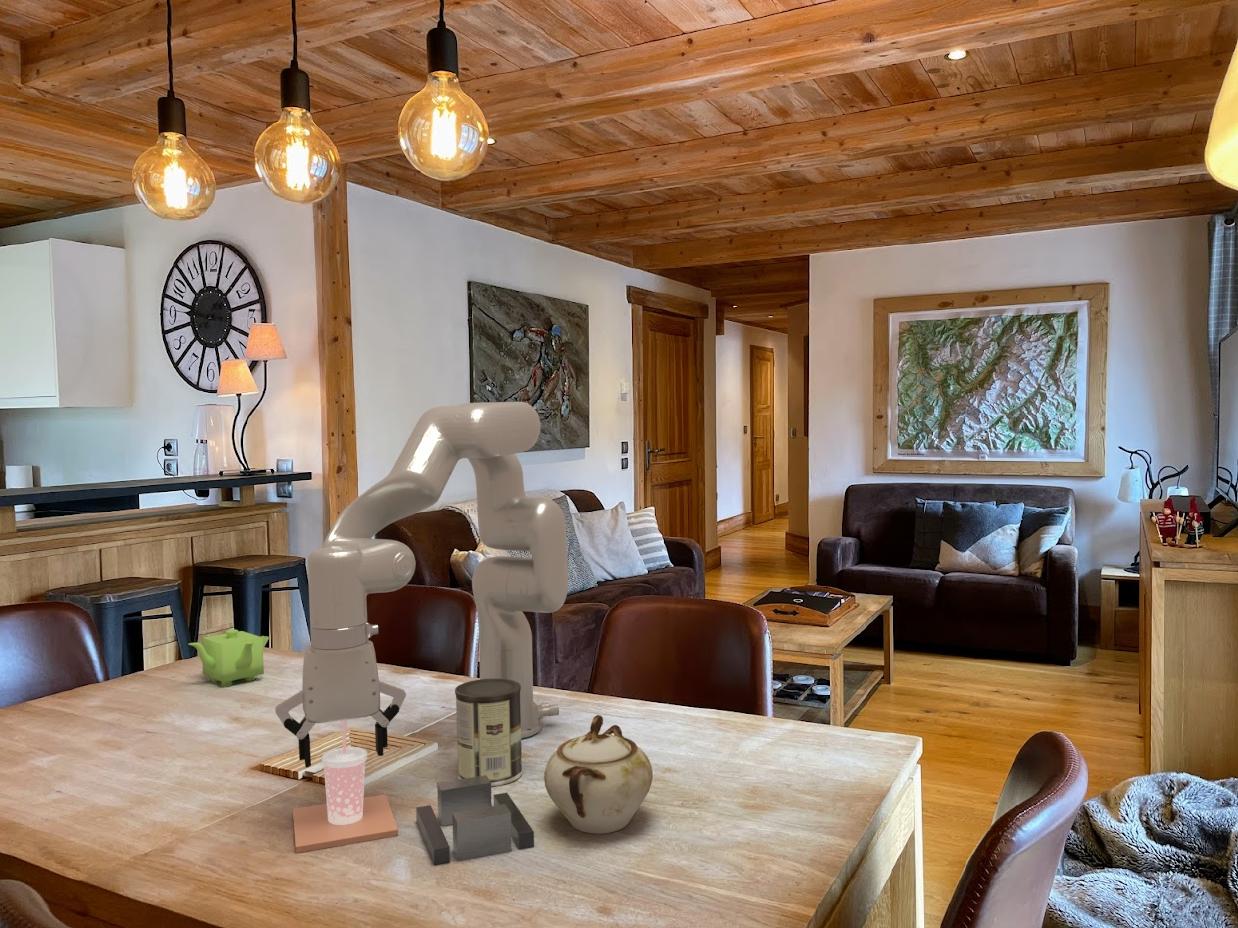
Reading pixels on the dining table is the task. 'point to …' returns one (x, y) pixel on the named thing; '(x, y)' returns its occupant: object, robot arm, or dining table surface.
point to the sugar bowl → (598, 779)
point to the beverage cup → (344, 782)
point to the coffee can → (489, 730)
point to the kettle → (232, 656)
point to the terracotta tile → (322, 834)
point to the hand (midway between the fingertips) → (344, 758)
